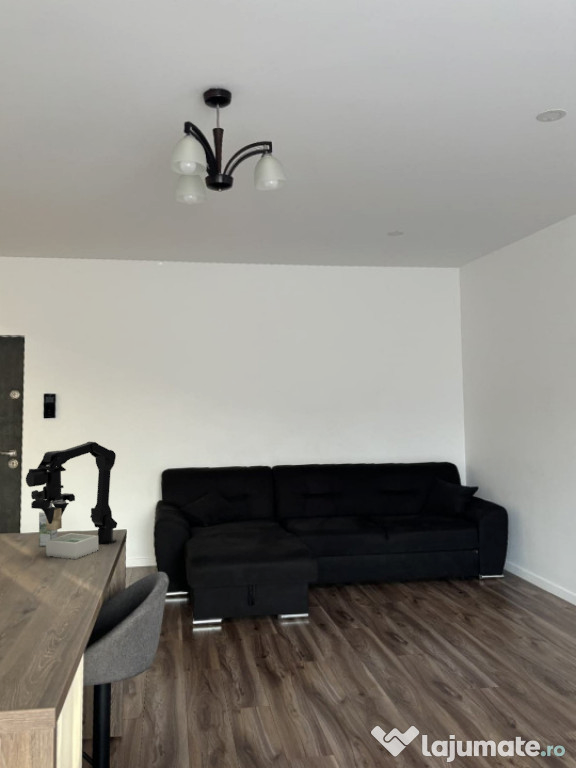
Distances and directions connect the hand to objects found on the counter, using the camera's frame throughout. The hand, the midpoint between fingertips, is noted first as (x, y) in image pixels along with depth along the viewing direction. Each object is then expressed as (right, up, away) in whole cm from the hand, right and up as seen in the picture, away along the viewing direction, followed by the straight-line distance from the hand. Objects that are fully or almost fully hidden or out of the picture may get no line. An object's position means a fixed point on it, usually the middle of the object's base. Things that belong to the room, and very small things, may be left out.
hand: (54, 522), depth 251 cm
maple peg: (0, -3, 0) cm, 2 cm away
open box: (+7, -13, +1) cm, 14 cm away
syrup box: (-8, -13, +15) cm, 22 cm away
